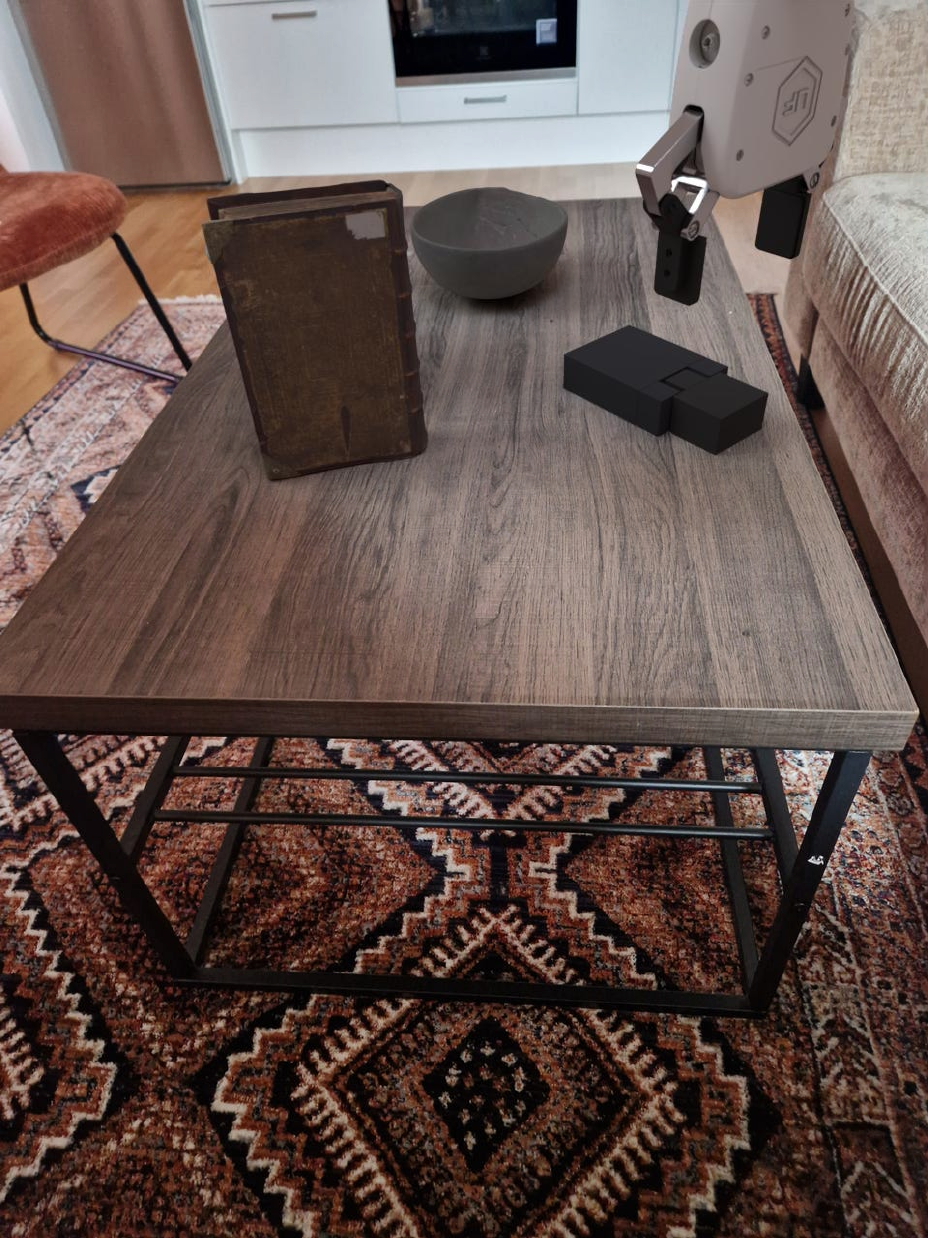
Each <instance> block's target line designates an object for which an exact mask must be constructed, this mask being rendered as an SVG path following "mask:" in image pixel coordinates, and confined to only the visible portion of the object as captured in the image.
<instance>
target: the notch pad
mask: <svg viewBox="0 0 928 1238" xmlns="http://www.w3.org/2000/svg"><path fill="white" fill-rule="evenodd" d="M686 369H687V370H689V371H692V372H694V373H696V374H698V375H701V376H703V377H705V378H707V379H708V378H710V377H712V376H714V375H716V374H718V373H720V372H721V373H723V374H726V375H728V373H729V366H728V365H726V364H723V363H721V362H719V361H716V360H713V359H711V358H709V357H707V356H705V355H702V354H700V353H698V352H696V351H693V350H691V349H688V348H686V347H685V346H682V345H679V344H676V343H674V342H672V341H669V340H668V339H665V338H663V337H660V336H658V335H655V334H653V333H650V332H648V331H647V330H643V329H641V328H639V327H637V326H634V325H633V324H632V325H631V324H627V325H625V326H623V327H620V328H618V329H616V330H614V331H612V332H609V333H607V334H605V335H603V336H601V337H599V338H596V339H594V340H592V341H589V342H587V343H585V344H582V345H581V346H579V347H577V348H574V349H572V350H569V351H568V352H566V353H563V376H562V377H563V379H562V388H563V389H565V390H567V391H569V392H570V393H572V394H574V395H577V396H579V397H580V398H582V399H584V400H586V401H588V402H590V403H592V404H593V405H595V406H598V407H599V408H601V409H604V410H605V411H607V412H609V413H611V414H613V415H615V416H616V417H619V418H621V419H622V420H624V421H627V422H629V423H631V424H632V425H634V426H637V427H639V428H640V429H642V430H644V431H647V432H648V433H650V434H652V435H654V436H656V437H659V436H661V435H664V434H665V433H667V432H669V429H670V421H671V412H672V403H673V396H675V395H677V394H679V393H681V392H680V391H679V390H676V389H674V388H672V387H670V386H668V385H666V384H665V380H666V379H668V378H670V377H672V376H674V375H676V374H678V373H680V372H682V371H684V370H686Z"/></svg>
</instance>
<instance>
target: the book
mask: <svg viewBox="0 0 928 1238" xmlns="http://www.w3.org/2000/svg"><path fill="white" fill-rule="evenodd" d="M403 195H404V194H403V191H402V189H399V188H398V187H397V186H395V184H393V183H391V182H386V181H385V180H383V179H379V178H378V179H370V180H369V179H368V180H361V181H353V182H352V181H351V182H342V183H337V184H332V185H331V184H330V185H323V186H311V187H309V186H308V187H301V188H293V189H292V188H291V189H282V190H273V191H263V192H238V193H237V192H236V193H230V194H229V193H228V194H223V195H215V196H211V197H206V200H205V201H206V207H207V212H208V216H209V219H210V220H206V221H203V222H201V228H202V234H203V238H204V242H205V247H207V250H208V254H209V257H210V260H209V262H210V264H211V265H212V264H213V265H212V268H213V267H214V268H213V271H214V270H215V271H214V273H215V278H216V282H217V286H218V290H219V293H220V296H221V301H222V304H223V308H224V313H225V316H226V320H227V323H228V327H229V333H230V336H231V340H232V342H233V347H234V350H235V354H236V358H237V361H238V365H239V366H238V367H239V370H240V374H241V378H242V382H243V385H244V390H245V394H246V398H247V402H248V406H249V409H250V414H251V417H252V418H251V419H252V422H253V425H254V426H253V427H254V429H255V430H254V431H255V433H256V438H257V441H258V444H259V451H260V455H261V460H262V463H263V467H264V471H265V475H266V478H267V480H270V481H271V480H281V479H288V478H295V477H299V476H302V475H309V474H311V473H316V472H322V471H327V470H328V471H329V470H333V469H338V468H341V467H342V468H343V467H348V466H349V467H350V466H355V465H361V464H366V463H373V462H391V461H398V460H405V459H409V458H414V457H415V456H416V455H417V454H419V453H422V452H423V451H424V450H425V448H426V447H427V444H428V443H427V442H428V438H429V436H428V435H429V434H428V431H427V428H426V422H425V415H424V413H425V412H424V403H425V402H424V393H423V391H422V387H421V375H420V368H421V361H420V359H419V355H418V347H417V337H416V332H417V322H416V320H415V315H414V306H413V295H412V294H413V284H412V282H411V276H410V267H409V259H408V249H409V244H408V239H407V238H406V226H405V213H404V196H403Z"/></svg>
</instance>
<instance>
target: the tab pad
mask: <svg viewBox="0 0 928 1238" xmlns="http://www.w3.org/2000/svg"><path fill="white" fill-rule="evenodd" d="M665 384H666V385H668V386H670V387H672V388H674V389H676V390H679V391H680V392H681V393H679V394H677V395H675V396H673V403H672V412H671V421H670V429H669V431H668V432H669V433H671V434H673V435H675V436H677V437H678V438H681V439H682V440H684V441H687V442H689V443H691V444H692V445H694V446H696V447H698V448H700V449H703V450H705V451H706V452H708V453H710V454H712V455H714V456H717V455H718V454H720V453H723V452H724V451H725V450H728V449H729V448H731V447H733V446H734V445H736V444H737V443H739V442H741V441H743V440H745V439H746V438H748V437H749V436H752V435H753V434H755V433H757V432H758V431H761V430H762V429H763V424H764V419H765V414H766V410H767V409H766V408H767V404H768V400H769V395H770V393H769V392H767V391H766V390H765V391H764V390H763V389H760V388H758V387H756V386H753V385H751V384H750V383H747V382H744V381H743V380H740V379H737V378H735V377H733V376H730V375H728V374H727V375H726V374H723V373H721V372H720V373H718V374H716V375H714V376H712V377H710V378H708V379H707V378H705V377H703V376H701V375H698V374H696V373H694V372H692V371H689V370H687V369H686V370H684V371H682V372H680V373H678V374H676V375H674V376H672V377H670V378H668V379H666V380H665Z"/></svg>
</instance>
